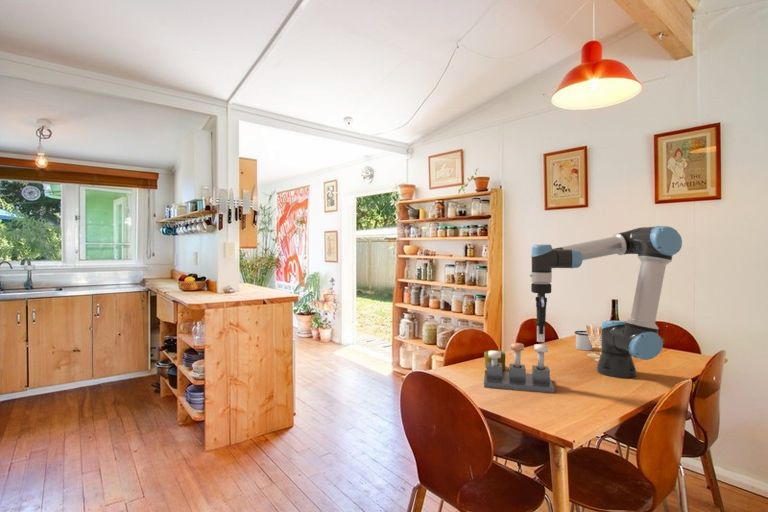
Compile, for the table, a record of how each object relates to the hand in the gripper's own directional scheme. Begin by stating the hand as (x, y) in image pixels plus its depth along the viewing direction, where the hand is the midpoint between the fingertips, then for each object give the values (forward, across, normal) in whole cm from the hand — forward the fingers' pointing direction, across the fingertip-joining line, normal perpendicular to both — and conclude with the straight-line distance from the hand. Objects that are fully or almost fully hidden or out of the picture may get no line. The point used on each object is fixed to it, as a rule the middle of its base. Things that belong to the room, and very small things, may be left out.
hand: (540, 341), depth 163 cm
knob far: (+16, 0, -18) cm, 24 cm away
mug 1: (+18, -19, -18) cm, 32 cm away
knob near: (+12, 0, 0) cm, 12 cm away
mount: (+18, 0, -9) cm, 20 cm away
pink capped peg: (+12, 0, -9) cm, 15 cm away
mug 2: (+18, -69, +30) cm, 77 cm away
